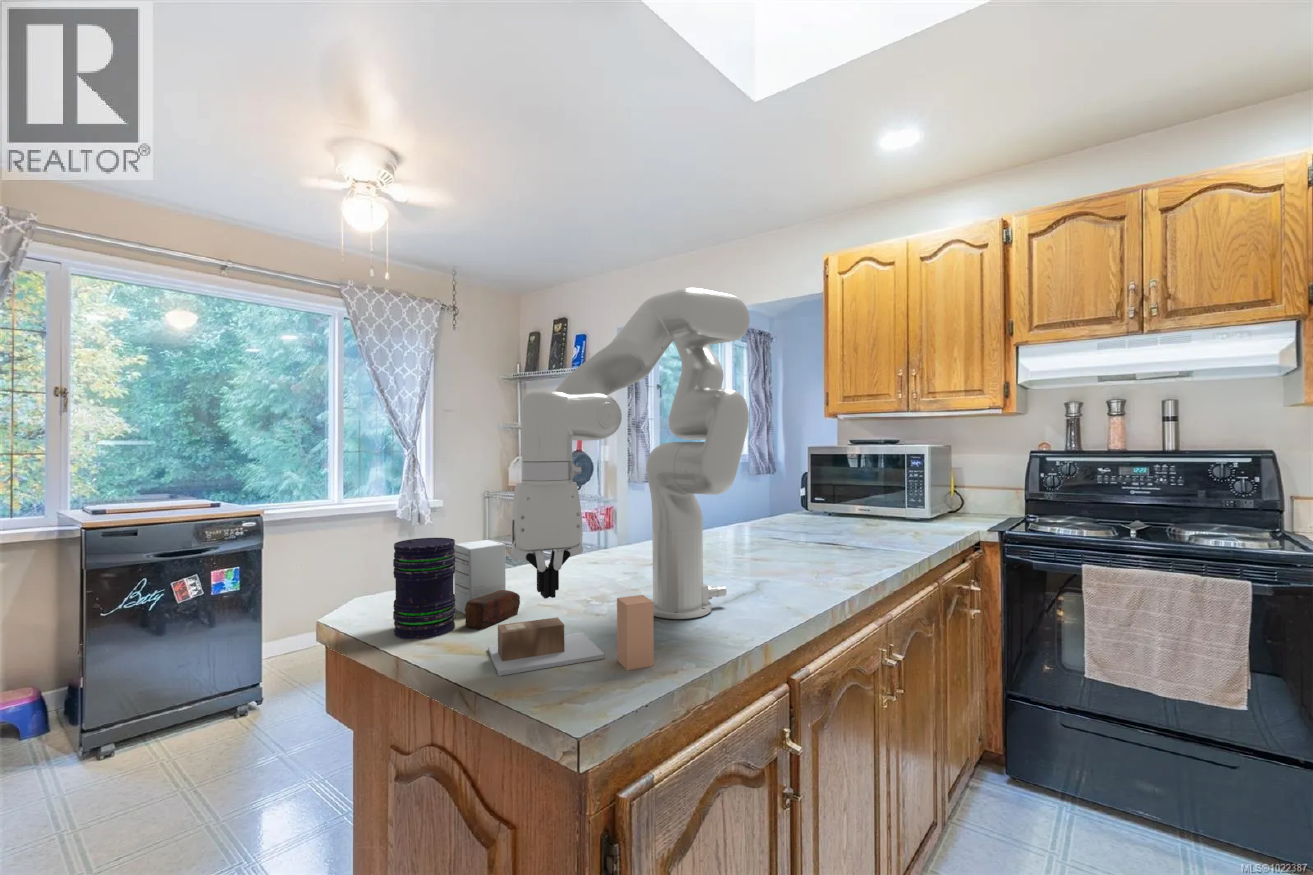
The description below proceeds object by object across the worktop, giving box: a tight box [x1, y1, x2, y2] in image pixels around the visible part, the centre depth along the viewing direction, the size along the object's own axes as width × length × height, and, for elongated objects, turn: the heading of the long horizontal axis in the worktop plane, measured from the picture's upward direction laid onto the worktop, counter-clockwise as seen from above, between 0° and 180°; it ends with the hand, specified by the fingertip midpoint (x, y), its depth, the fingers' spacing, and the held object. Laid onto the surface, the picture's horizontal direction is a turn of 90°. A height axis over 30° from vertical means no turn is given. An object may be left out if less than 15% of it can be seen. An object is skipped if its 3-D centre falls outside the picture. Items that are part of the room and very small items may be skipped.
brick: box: [464, 589, 521, 631], centre depth 103 cm, size 11×4×5 cm, turn 158°
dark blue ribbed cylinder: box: [392, 537, 457, 641], centre depth 97 cm, size 10×10×15 cm
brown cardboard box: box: [497, 616, 565, 661], centre depth 85 cm, size 4×4×9 cm
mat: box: [487, 632, 605, 677], centre depth 85 cm, size 15×11×1 cm
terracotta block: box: [616, 594, 655, 671], centre depth 82 cm, size 4×4×9 cm
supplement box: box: [453, 539, 507, 615], centre depth 110 cm, size 7×7×13 cm
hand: (547, 595), depth 86 cm, fingers closed
